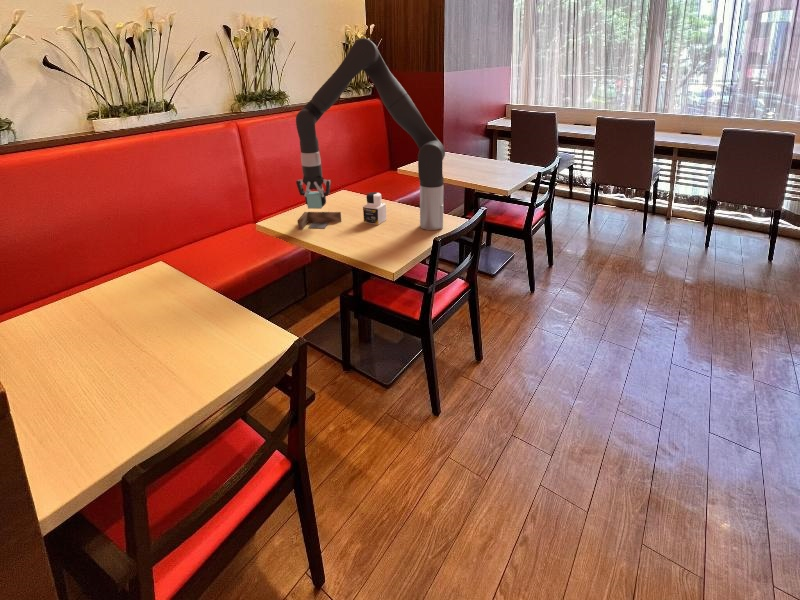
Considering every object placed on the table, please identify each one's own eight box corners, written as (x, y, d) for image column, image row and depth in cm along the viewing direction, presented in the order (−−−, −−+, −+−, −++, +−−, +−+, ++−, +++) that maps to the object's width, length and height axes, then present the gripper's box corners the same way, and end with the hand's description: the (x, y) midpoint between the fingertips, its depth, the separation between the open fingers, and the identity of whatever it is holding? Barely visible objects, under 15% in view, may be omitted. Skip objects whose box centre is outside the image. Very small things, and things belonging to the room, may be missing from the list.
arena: (341, 221, 206) (340, 211, 204) (335, 230, 196) (334, 220, 194) (306, 220, 207) (304, 211, 205) (298, 229, 198) (297, 220, 196)
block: (324, 204, 200) (323, 191, 197) (321, 208, 195) (319, 195, 192) (311, 204, 200) (310, 191, 198) (307, 208, 196) (306, 195, 193)
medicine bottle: (363, 222, 203) (361, 194, 197) (372, 217, 208) (370, 190, 203) (378, 225, 200) (376, 196, 194) (386, 219, 205) (385, 192, 200)
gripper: (331, 161, 192) (335, 202, 200) (296, 161, 193) (301, 202, 202) (327, 165, 185) (331, 208, 193) (290, 165, 187) (296, 208, 195)
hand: (316, 205), depth 197 cm, fingers closed on block, 5 cm apart
